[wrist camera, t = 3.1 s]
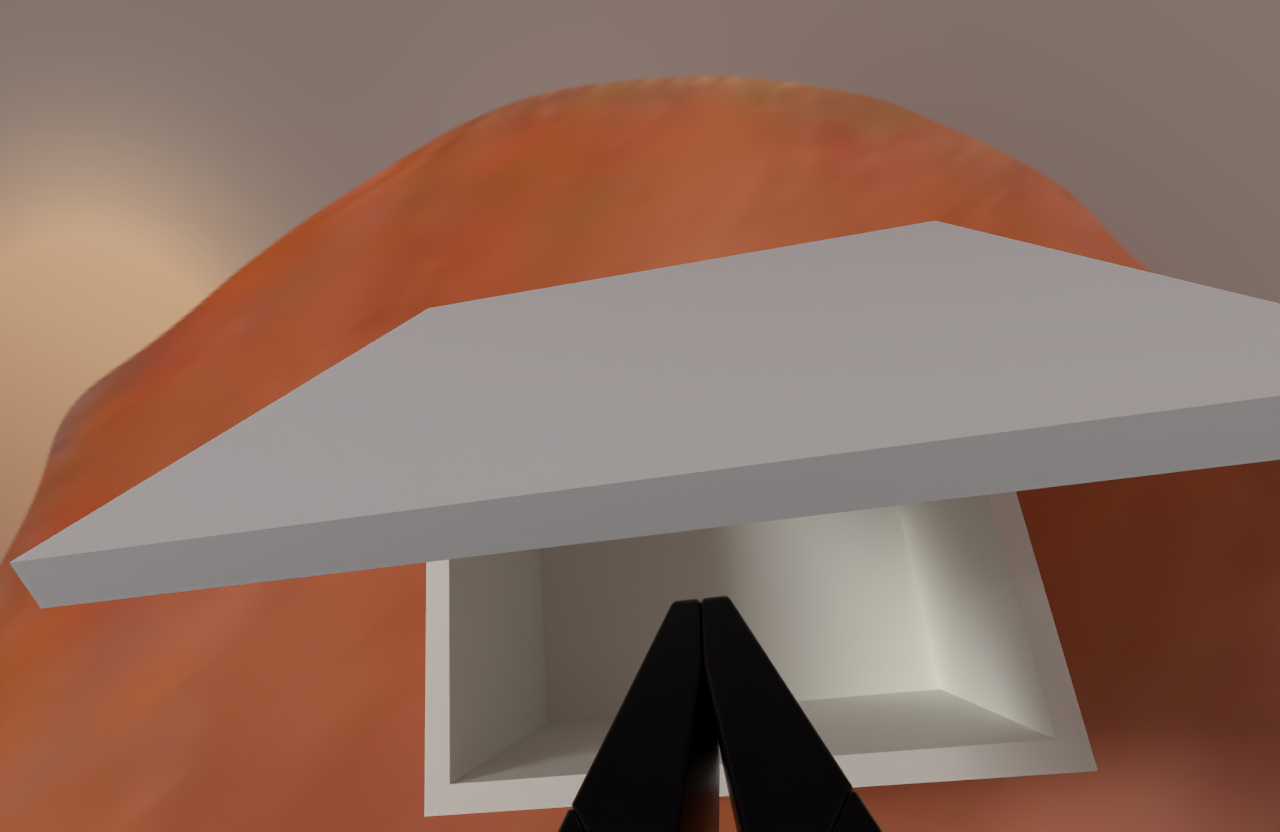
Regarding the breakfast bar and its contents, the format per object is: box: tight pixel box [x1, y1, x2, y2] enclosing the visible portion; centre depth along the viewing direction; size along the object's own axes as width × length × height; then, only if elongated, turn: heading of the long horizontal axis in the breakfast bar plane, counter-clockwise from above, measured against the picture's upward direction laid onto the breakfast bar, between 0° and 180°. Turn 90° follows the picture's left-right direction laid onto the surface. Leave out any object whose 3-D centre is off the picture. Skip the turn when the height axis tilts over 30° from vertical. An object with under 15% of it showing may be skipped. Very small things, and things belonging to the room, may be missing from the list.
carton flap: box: [10, 221, 1280, 608], centre depth 11 cm, size 12×14×1 cm
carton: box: [424, 491, 1098, 817], centre depth 18 cm, size 12×14×8 cm
